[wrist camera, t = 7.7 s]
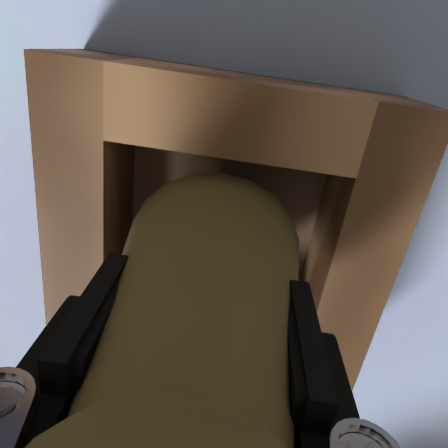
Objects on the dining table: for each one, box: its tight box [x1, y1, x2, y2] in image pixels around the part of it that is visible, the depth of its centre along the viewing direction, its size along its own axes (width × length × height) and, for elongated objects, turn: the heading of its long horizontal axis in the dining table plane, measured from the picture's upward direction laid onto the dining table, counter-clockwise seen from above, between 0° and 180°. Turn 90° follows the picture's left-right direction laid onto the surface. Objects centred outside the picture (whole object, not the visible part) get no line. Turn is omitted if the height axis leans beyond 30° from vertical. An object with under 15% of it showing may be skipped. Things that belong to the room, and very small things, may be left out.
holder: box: [24, 49, 448, 390], centre depth 15 cm, size 12×12×4 cm
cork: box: [25, 172, 299, 448], centre depth 9 cm, size 6×6×11 cm
